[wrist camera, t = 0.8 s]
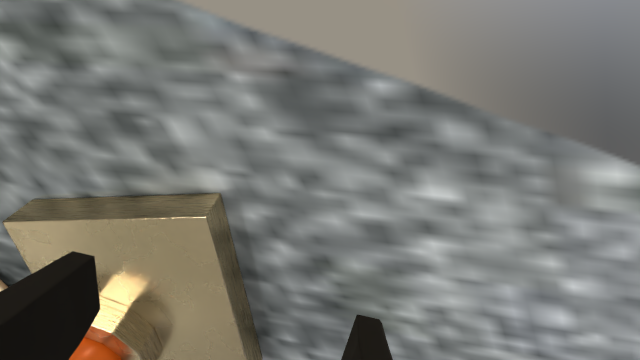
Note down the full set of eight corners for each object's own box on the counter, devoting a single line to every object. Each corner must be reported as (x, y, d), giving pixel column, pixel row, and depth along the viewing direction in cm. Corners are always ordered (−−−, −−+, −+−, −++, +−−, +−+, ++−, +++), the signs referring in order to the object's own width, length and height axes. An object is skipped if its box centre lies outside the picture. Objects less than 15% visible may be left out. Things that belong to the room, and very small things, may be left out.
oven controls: (262, 358, 27) (247, 417, 24) (100, 354, 29) (63, 409, 25) (220, 192, 21) (191, 239, 18) (17, 199, 23) (-47, 244, 19)
